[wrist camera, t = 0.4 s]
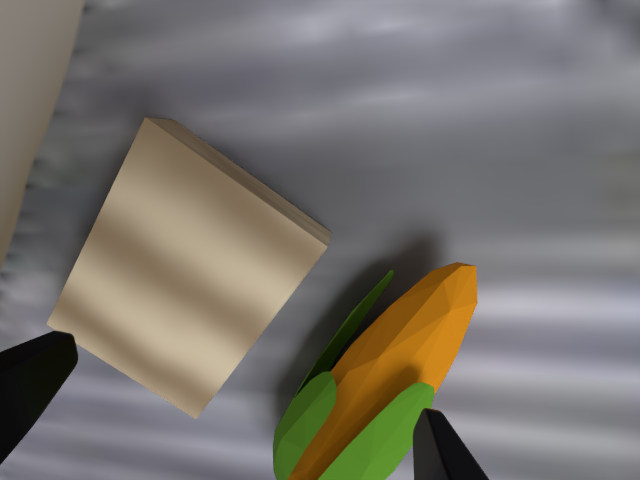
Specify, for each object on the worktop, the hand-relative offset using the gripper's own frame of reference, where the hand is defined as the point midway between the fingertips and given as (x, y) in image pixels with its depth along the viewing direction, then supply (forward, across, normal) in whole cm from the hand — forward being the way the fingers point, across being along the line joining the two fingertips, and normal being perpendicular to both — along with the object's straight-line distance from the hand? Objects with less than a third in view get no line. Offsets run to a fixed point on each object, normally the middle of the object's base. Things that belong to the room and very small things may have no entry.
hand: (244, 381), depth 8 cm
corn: (+13, -6, +10) cm, 17 cm away
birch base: (+13, +7, +6) cm, 16 cm away
